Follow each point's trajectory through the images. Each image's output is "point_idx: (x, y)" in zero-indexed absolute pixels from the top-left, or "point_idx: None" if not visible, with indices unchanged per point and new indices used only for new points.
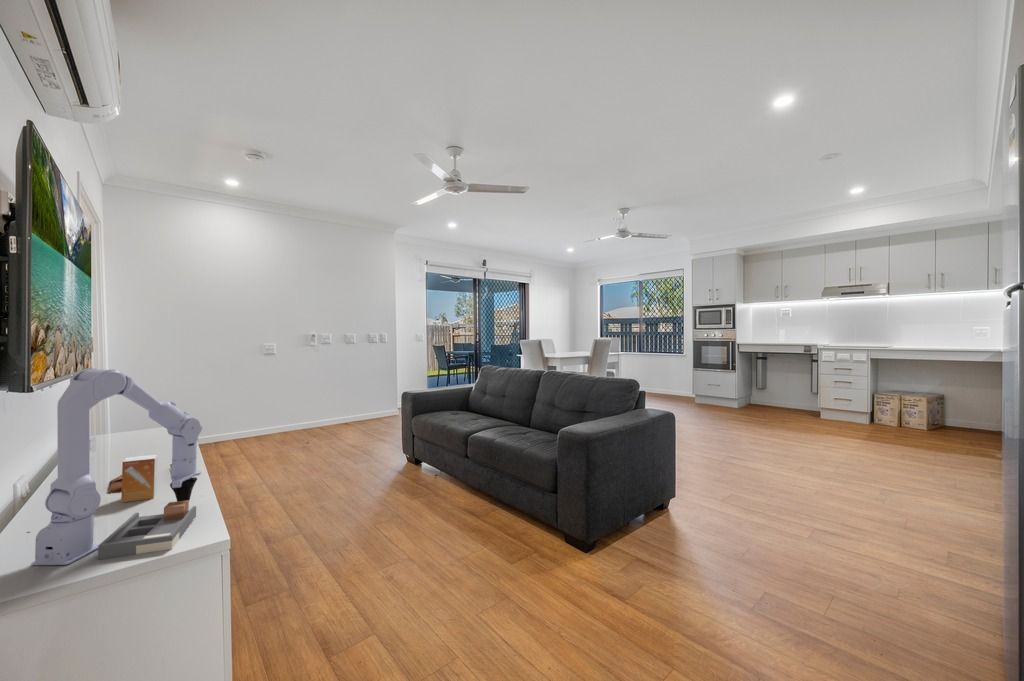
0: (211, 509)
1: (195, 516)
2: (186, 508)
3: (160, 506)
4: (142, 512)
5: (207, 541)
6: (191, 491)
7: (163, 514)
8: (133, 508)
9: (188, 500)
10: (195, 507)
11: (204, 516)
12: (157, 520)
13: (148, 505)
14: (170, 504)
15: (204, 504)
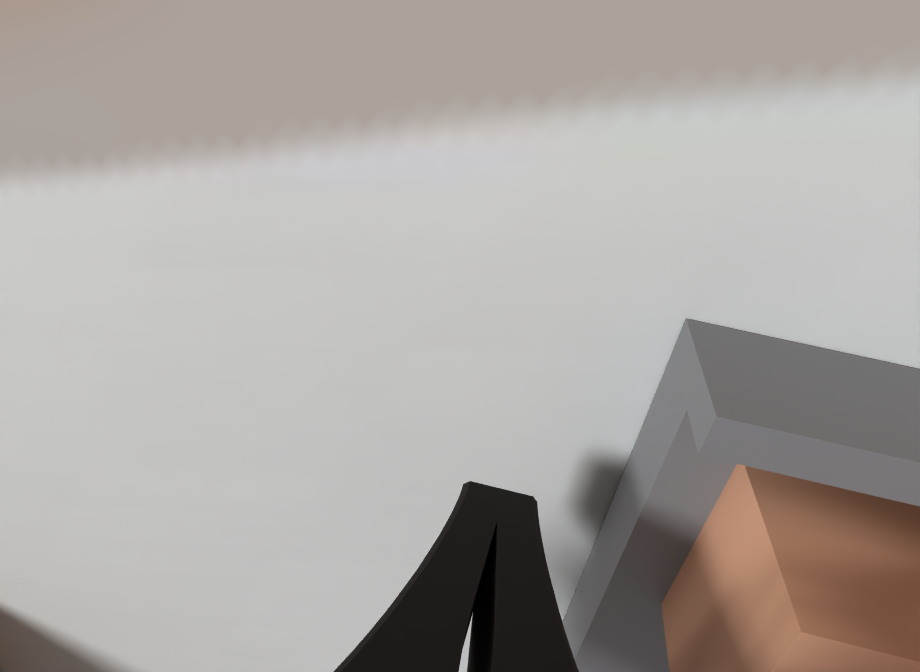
0: (443, 132)
1: (720, 335)
2: (910, 570)
3: (131, 548)
4: (246, 635)
5: None
6: (410, 626)
7: (607, 635)
8: (133, 658)
9: (813, 635)
10: (762, 422)
11: (733, 221)
12: None
13: (86, 598)
14: None
15: (177, 222)
